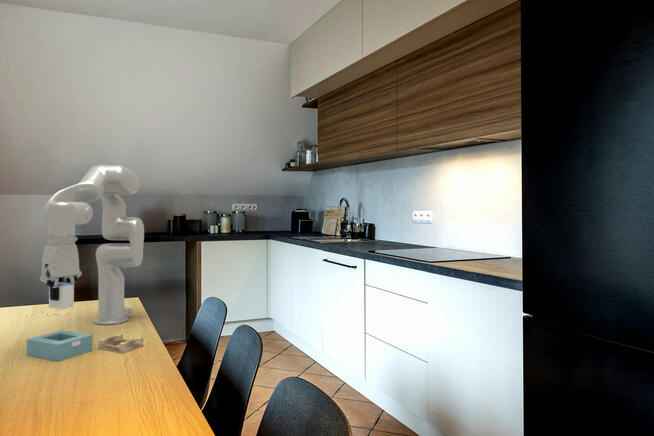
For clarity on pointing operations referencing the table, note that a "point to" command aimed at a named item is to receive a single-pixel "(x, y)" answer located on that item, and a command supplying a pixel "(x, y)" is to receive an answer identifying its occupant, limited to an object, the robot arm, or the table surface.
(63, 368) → the table surface
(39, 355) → the block
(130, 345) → the wooden frame
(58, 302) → the white box blue label
